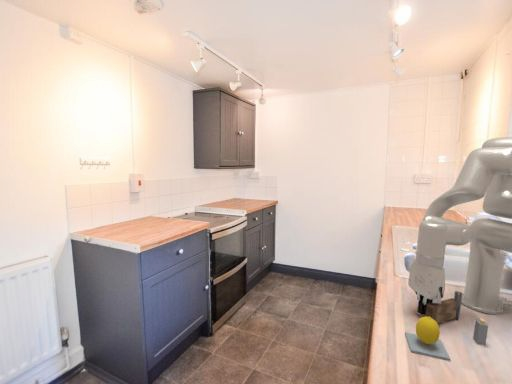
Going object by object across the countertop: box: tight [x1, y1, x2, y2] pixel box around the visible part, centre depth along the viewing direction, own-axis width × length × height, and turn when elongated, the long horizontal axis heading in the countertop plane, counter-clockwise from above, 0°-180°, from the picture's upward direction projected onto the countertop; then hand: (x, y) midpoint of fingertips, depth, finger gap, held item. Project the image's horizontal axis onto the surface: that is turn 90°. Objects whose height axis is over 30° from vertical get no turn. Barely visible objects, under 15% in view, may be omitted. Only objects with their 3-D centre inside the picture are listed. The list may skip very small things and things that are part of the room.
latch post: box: [472, 318, 489, 346], centre depth 77 cm, size 2×2×7 cm
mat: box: [404, 331, 451, 362], centre depth 75 cm, size 9×8×1 cm
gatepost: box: [452, 290, 463, 321], centre depth 89 cm, size 2×2×9 cm
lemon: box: [415, 316, 441, 345], centre depth 74 cm, size 6×6×8 cm
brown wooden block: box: [425, 297, 458, 324], centre depth 86 cm, size 12×2×6 cm, turn 113°
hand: (423, 313), depth 89 cm, fingers closed
